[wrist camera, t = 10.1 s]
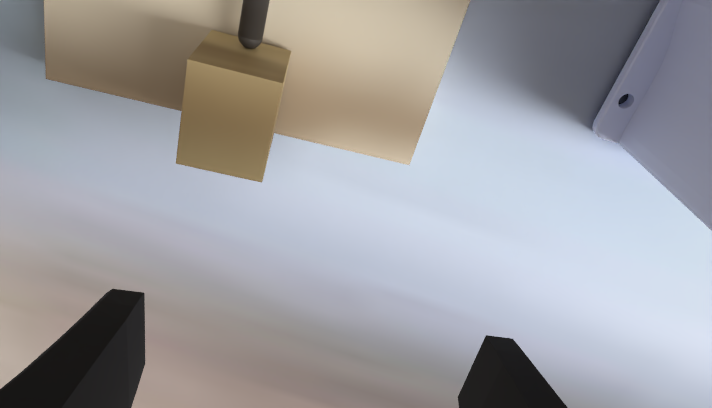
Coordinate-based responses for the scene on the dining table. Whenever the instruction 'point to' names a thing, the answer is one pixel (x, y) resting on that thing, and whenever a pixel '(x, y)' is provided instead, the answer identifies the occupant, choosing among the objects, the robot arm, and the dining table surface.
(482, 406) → the robot arm
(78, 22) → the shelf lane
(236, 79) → the block with dark rod
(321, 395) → the dining table surface
